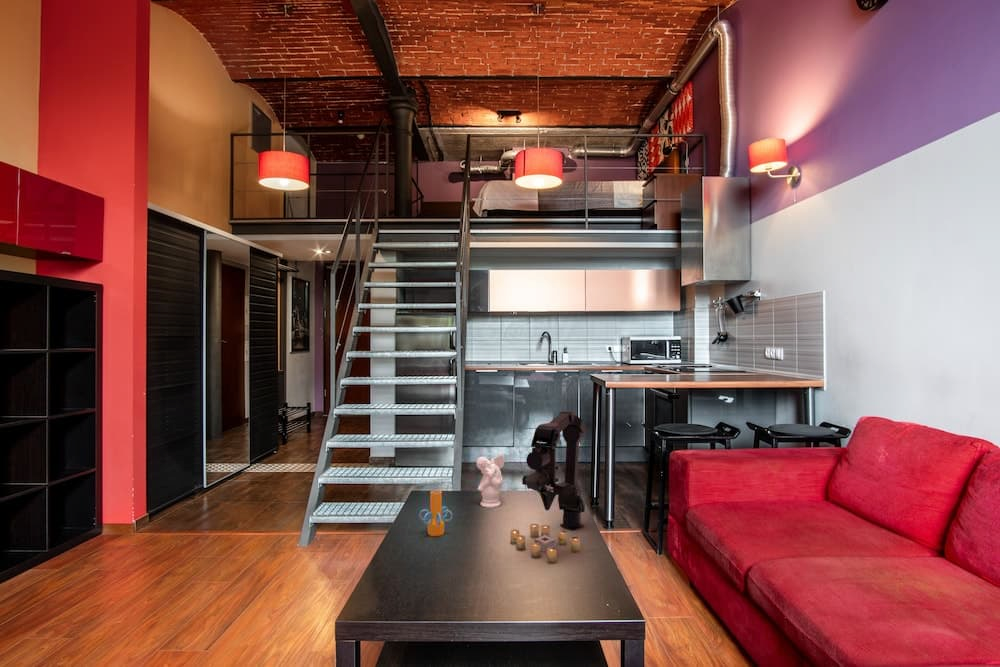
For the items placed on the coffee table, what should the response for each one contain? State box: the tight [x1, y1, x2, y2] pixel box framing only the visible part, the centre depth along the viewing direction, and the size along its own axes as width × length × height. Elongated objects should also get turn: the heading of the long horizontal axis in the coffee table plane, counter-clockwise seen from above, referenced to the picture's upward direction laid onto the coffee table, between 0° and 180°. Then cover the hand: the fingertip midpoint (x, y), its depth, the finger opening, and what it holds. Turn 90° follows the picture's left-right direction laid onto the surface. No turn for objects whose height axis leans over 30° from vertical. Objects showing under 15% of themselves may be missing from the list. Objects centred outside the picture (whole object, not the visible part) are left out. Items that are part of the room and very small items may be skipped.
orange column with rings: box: [418, 489, 454, 537], centre depth 183 cm, size 12×10×15 cm
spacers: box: [510, 523, 581, 565], centre depth 171 cm, size 17×22×4 cm
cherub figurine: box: [476, 453, 506, 509], centre depth 217 cm, size 12×12×22 cm
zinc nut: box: [534, 535, 557, 554], centre depth 170 cm, size 5×5×3 cm
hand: (547, 510), depth 169 cm, fingers closed
